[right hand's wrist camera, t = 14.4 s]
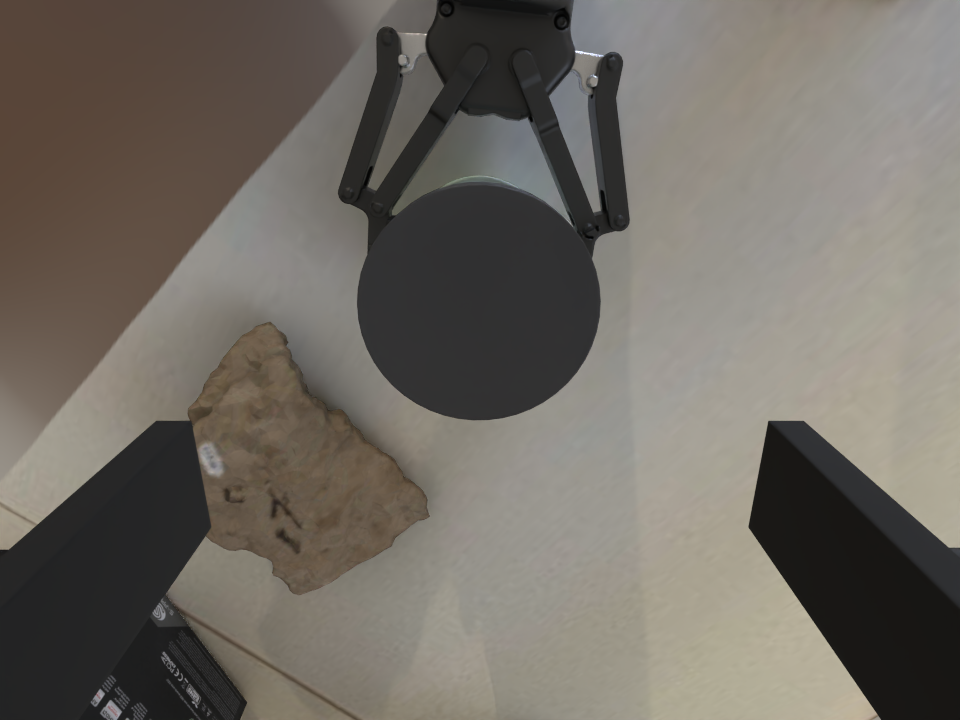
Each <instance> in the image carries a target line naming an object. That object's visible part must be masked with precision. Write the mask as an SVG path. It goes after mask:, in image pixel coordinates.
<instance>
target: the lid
mask: <svg viewBox="0 0 960 720" xmlns="http://www.w3.org/2000/svg"><path fill="white" fill-rule="evenodd" d="M600 302H601V301H600V288H599V282H598V277H597V273H596V269H595V266H594V263H593V261H592V258H591V255H590V253H589V252H588V250H587V248H586V246H585V244H584V242H583V240H582V239H581V238H580V236H579V235H578V234H577V232H576V231H575V229H574V228H573V227H572V226H571V225H570V224H569V223H568V222H567V221H566V220H565V219H564V218H563V217H562V216H561V215H560V214H559V213H558V212H557V211H556V210H554V209H553V208H552V207H551V206H549V205H548V204H547V203H546V202H544V201H543V200H541V199H539V198H537V197H536V196H534V195H532V194H531V193H528V192H526V191H523V190H521V189H519V188H516V187H512V186H509V185H505V184H501V183H493V182H464V183H458V184H452V185H449V186H445V187H442V188H439V189H436V190H434V191H432V192H430V193H427V194H425V195H423V196H422V197H420V198H419V199H417V200H415V201H414V202H412V203H411V204H409V205H408V206H407V207H406V208H405V209H403V210H402V211H401V212H400V213H399V214H398V215H396V216H395V217H394V218H393V219H392V220H391V221H390V222H389V223H388V225H387V226H386V227H385V228H384V229H383V230H382V231H381V233H380V234H379V236H378V237H377V239H376V240H375V242H374V243H373V245H372V247H371V249H370V251H369V253H368V255H367V257H366V259H365V262H364V265H363V268H362V271H361V275H360V280H359V286H358V297H357V308H358V320H359V324H360V329H361V333H362V336H363V339H364V342H365V345H366V347H367V350H368V352H369V354H370V355H371V357H372V359H373V361H374V363H375V364H376V366H377V367H378V369H379V370H380V371H381V373H382V374H383V375H384V377H385V378H386V379H387V380H388V381H389V382H390V383H391V384H392V385H393V386H394V387H395V388H396V389H397V390H398V391H400V392H401V393H402V394H403V395H404V396H406V397H407V398H409V399H410V400H412V401H413V402H415V403H416V404H418V405H420V406H422V407H424V408H426V409H428V410H430V411H433V412H436V413H439V414H442V415H445V416H449V417H453V418H458V419H467V420H492V419H499V418H505V417H509V416H513V415H517V414H519V413H522V412H524V411H527V410H530V409H532V408H534V407H536V406H537V405H539V404H541V403H543V402H545V401H546V400H548V399H549V398H550V397H552V396H553V395H555V394H556V393H557V392H558V391H559V390H561V389H562V388H563V387H564V386H565V385H566V384H567V383H568V382H569V381H570V380H571V378H572V377H573V376H574V375H575V374H576V373H577V371H578V370H579V368H580V367H581V365H582V364H583V362H584V361H585V359H586V357H587V355H588V353H589V351H590V349H591V347H592V344H593V341H594V338H595V335H596V332H597V328H598V323H599V317H600Z"/></svg>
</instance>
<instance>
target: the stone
mask: <svg viewBox="0 0 960 720" xmlns="http://www.w3.org/2000/svg"><path fill="white" fill-rule="evenodd" d="M287 343H288V341H287V338H286V336H285V335H284V334H283V333H282V332H281V331H279V330H278V329H277V328H276V327H275V326H274V325H273V324H272V323H271V322H268V323H265V324H262V325H259V326H256V327H255V328H254V329H253V330H252V331H250V332H248V333H246V334H244V335H243V336H242V337H241V338H240V339H239V340H238V341H237V342H236V343H235V344H234V346H233V347H232V348H231V349H230V350H229V352H228V353H227V354H226V355H225V356H224V358H223V359H222V361H221V362H220V364H219V367H218V368H217V369H216V370H215V371H214V372H212V373H211V374H210V377H209V379H208V380H207V382H206V383H205V384H204V387H203V391H202V393H201V394H200V396H199V397H198V399H197V400H196V402H195V403H194V404H193V405H192V406H191V407H189V408H188V416H189V419H190V421H192V424H193V432H194V437H195V442H196V448H197V453H198V458H199V463H200V469H201V474H202V479H203V485H204V490H205V495H206V500H207V506H208V511H209V516H210V522H211V529H210V530H209V532H208V533H207V534H206V537H207V538H208V539H210V540H211V541H212V542H214V543H216V544H217V545H219V546H221V547H223V548H225V549H227V550H233V551H236V550H240V549H243V550H248V551H251V552H253V553H255V554H257V555H258V556H261V557H264V558H267V559H269V560H270V561H272V564H273V572H272V574H273V575H274V576H276V577H279V578H281V579H282V580H283V581H284V582H285V583H286V584H287V585H288V587H289V589H290V591H291V592H292V593H294V594H297V595H301V594H304V593H307V592H309V591H312V590H316V589H318V588H320V587H322V586H324V585H326V584H329V583H331V582H332V581H334V580H335V579H337V578H338V577H339V576H340V575H342V574H343V573H345V572H347V571H348V570H350V569H351V568H353V567H355V566H356V565H358V564H359V563H362V562H364V561H366V560H368V559H370V558H372V557H374V556H376V555H377V554H379V553H380V552H382V551H383V550H385V549H387V548H389V547H391V546H392V544H393V541H394V539H395V537H397V536H398V535H399V534H401V533H402V532H403V531H405V530H406V529H407V528H408V527H410V526H411V525H412V524H413V523H415V522H416V521H418V520H424V519H426V518H428V517H429V513H428V509H427V498H426V495H425V494H424V492H423V491H422V490H421V489H420V488H419V487H418V486H417V485H415V483H413V482H412V481H411V480H409V479H407V478H405V477H404V476H403V474H402V471H401V470H400V468H399V467H398V465H397V463H396V462H395V460H394V459H393V458H392V457H390V456H389V455H387V454H385V453H383V452H381V451H380V450H379V449H378V448H376V447H374V446H372V445H371V444H369V443H368V442H367V441H366V440H365V439H364V437H363V435H362V433H361V432H360V430H358V429H357V428H355V427H354V426H353V424H352V423H351V422H350V420H349V418H348V416H347V415H346V414H345V413H344V412H343V411H342V410H340V409H337V410H333V411H328V409H327V407H326V405H325V404H324V403H323V402H321V401H320V400H317V398H315V397H311V396H310V395H309V393H308V390H307V386H306V384H305V383H304V382H303V380H302V378H303V374H302V372H301V370H300V368H299V367H298V365H297V364H296V363H295V362H294V361H293V360H292V355H291V352H290V349H288V348H287V347H286V345H287Z"/></svg>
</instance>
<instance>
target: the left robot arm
mask: <svg viewBox="0 0 960 720" xmlns="http://www.w3.org/2000/svg"><path fill="white" fill-rule="evenodd" d="M573 2H574V0H437V11H436V16H435V19H434V22H433V24H432V26H431V27H430V29H429V31H428V33H427V34H418V33H400V32H396V31H395V30H394V29H393V28H391V27H388V26H387V27H383V28H381V29H380V30H379V32H378V33H377V73H376V76H375V79H374V82H373V85H372V88H371V92H370V95H369V98H368V101H367V104H366V107H365V110H364V113H363V116H362V119H361V122H360V125H359V128H358V131H357V134H356V138H355V141H354V144H353V147H352V150H351V153H350V156H349V159H348V162H347V165H346V168H345V171H344V174H343V177H342V180H341V184H340V187H339V190H338V195H339V198H340V200H341V201H342V202H344V203H346V204H351V205H353V206H355V207H357V208H359V209H361V210H363V211H364V212H365V213H366V215H367V216H368V220H369V227H368V253H369V251H370V249H371V247H372V245H373V243H374V242H375V240H376V239H377V237H378V236H379V234H380V233H381V231H382V230H383V229H384V228H385V227H386V226H387V225H388V223H389V222H390V221H391V220H392V219H393V218H394V217H395V216H394V215H392V209H393V207H394V206H395V204H396V203H397V201H398V200H399V198H400V197H401V195H402V194H403V192H404V191H405V189H406V188H407V186H408V185H409V183H410V182H411V181H412V179H413V178H414V176H415V175H416V173H417V172H418V170H419V169H420V167H421V166H422V164H423V163H424V161H425V160H426V158H427V157H428V155H429V154H430V152H431V151H432V149H433V148H434V146H435V145H436V143H437V142H438V140H439V139H440V137H441V136H442V134H443V133H444V131H445V130H446V128H447V127H448V126H449V124H450V123H451V122H452V120H453V119H454V117H455V116H456V114H457V113H458V111H459V110H461V111H462V112H464V113H465V114H468V116H477V117H482V116H488V115H496V116H499V117H501V118H504V119H506V120H515V121H519V120H522V119H525V118H527V117H528V120H529V122H530V125H531V127H532V129H533V131H534V133H535V135H536V137H537V140H538V142H539V145H540V147H541V150H542V152H543V154H544V157H545V159H546V162H547V164H548V167H549V169H550V172H551V174H552V176H553V179H554V181H555V184H556V186H557V189H558V191H559V194H560V196H561V198H562V201H563V203H564V206H565V208H566V211H567V213H568V216H569V218H570V220H571V223H572V225H573V228H574V229H575V231H576V232H577V234H578V235H579V236H580V238H581V239H582V240H583V242H584V244H585V246H586V248H587V250H588V252H589V253H590V255H591V258H592V256H593V250H594V244H595V241H596V240H597V238H598V237H599V236H601V235H603V234H606V233H610V232H614V231H623V230H625V229H626V228H627V227H628V225H629V220H630V219H629V210H628V201H627V192H626V183H625V174H624V166H623V157H622V148H621V139H620V130H619V121H618V112H617V104H616V95H617V90H618V86H619V81H620V76H621V72H622V67H623V60H622V57H621V56H620V55H619V54H618V53H616V52H610V53H608V54H606V55H597V54H591V53H586V52H580V51H575V48H574V45H573V42H572V38H571V32H570V25H571V17H572V10H573ZM423 56H428V57H429V59H430V61H431V62H432V64H433V66H434V68H435V70H436V71H437V73H438V75H439V77H440V79H441V81H442V82H443V84H444V88H443V89H442V91H441V92H440V94H439V95H438V97H437V98H436V100H435V101H434V103H433V104H432V106H431V108H430V110H429V112H428V113H427V115H426V117H425V118H424V120H423V121H422V123H421V124H420V126H419V127H418V129H417V130H416V132H415V133H414V135H413V136H412V138H411V139H410V141H409V142H408V144H407V145H406V147H405V149H404V150H403V152H402V153H401V155H400V156H399V158H398V159H397V161H396V162H395V164H394V165H393V167H392V168H391V170H390V171H389V173H388V174H387V176H386V177H385V179H384V180H383V182H382V184H381V185H380V187H379V188H378V190H377V191H375V190H373V189H371V188H369V187H368V184H369V181H370V178H371V175H372V172H373V170H374V167H375V164H376V161H377V158H378V155H379V152H380V149H381V146H382V143H383V140H384V137H385V134H386V132H387V129H388V126H389V123H390V120H391V117H392V114H393V111H394V108H395V105H396V102H397V99H398V96H399V94H400V90H401V86H402V81H403V75H409V74H411V73H412V72H413V71H414V70H415V67H416V63H417V61H418V59H420V58H421V57H423ZM569 72H573V73H574V74H576V76H577V77H578V80H579V88H580V90H581V92H582V93H583V94H586V95H589V96H588V111H589V120H590V128H591V136H592V144H593V151H594V159H595V167H596V175H597V183H598V190H599V198H600V206H601V211H599V212H595V213H593V211H592V209H591V206H590V204H589V201H588V199H587V196H586V193H585V191H584V188H583V186H582V183H581V181H580V178H579V176H578V173H577V171H576V168H575V166H574V163H573V160H572V158H571V155H570V153H569V150H568V148H567V145H566V143H565V140H564V138H563V135H562V133H561V130H560V127H559V124H558V120H557V117H556V114H555V112H554V109H553V107H552V104H551V102H550V99H549V96H550V94H551V93H552V92H553V91H554V90H555V88H556V87H557V86H558V85H559V84H560V83H561V81H562V80H563V79H564V78H565V77H566V76H567V74H568V73H569Z"/></svg>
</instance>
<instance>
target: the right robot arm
mask: <svg viewBox="0 0 960 720" xmlns="http://www.w3.org/2000/svg"><path fill="white" fill-rule="evenodd" d="M210 529H211V522H210V516H209V511H208V506H207V500H206V495H205V490H204V485H203V479H202V474H201V469H200V463H199V458H198V453H197V448H196V442H195V437H194V432H193V426H192V421H156V422H155V423H153V424H152V425H151V426H150V427H149V428H148V429H147V430H145V431H144V432H143V433H142V434H141V435H140V436H139V437H137V438H136V439H135V440H134V441H133V442H132V443H131V444H129V445H128V446H127V447H126V448H125V449H124V450H123V451H121V452H120V453H119V454H118V455H117V456H116V457H115V458H113V459H112V460H111V461H110V462H109V463H108V464H107V465H105V466H104V467H103V468H102V469H101V470H100V471H99V472H97V473H96V474H95V475H94V476H93V477H92V478H91V479H89V480H88V481H87V482H86V483H85V484H84V485H82V486H81V487H80V488H79V489H78V490H77V491H76V492H74V493H73V494H72V495H71V496H70V497H69V498H68V499H66V500H65V501H64V502H63V503H62V504H61V505H60V506H58V507H57V508H56V509H55V510H54V511H53V512H52V513H50V514H49V515H48V516H47V517H46V518H45V519H44V520H42V521H41V522H40V523H39V524H38V525H37V526H36V527H34V528H33V529H32V530H31V531H30V532H29V533H28V534H26V535H25V536H24V537H23V538H22V539H21V540H20V541H18V542H17V543H16V544H15V545H14V546H13V547H12V548H10V549H9V550H0V720H79V719H80V717H81V716H82V714H83V713H84V711H85V710H86V708H87V707H88V706H89V704H90V703H91V701H92V700H93V698H94V697H95V695H96V694H97V693H98V691H99V690H100V688H101V687H102V685H103V684H104V682H105V681H106V679H107V678H108V677H109V675H110V674H111V672H112V671H113V669H114V668H115V666H116V665H117V664H118V662H119V661H120V659H121V658H122V656H123V655H124V653H125V652H126V650H127V649H128V648H129V646H130V645H131V643H132V642H133V640H134V639H135V637H136V636H137V635H138V633H139V632H140V630H141V629H142V627H143V626H144V624H145V623H146V621H147V620H148V619H149V617H150V616H151V614H152V613H153V611H154V610H155V608H156V607H157V606H158V604H159V603H160V601H161V600H162V598H163V597H164V595H165V594H166V592H167V591H168V590H169V588H170V587H171V585H172V584H173V582H174V581H175V579H176V578H177V577H178V575H179V574H180V572H181V571H182V569H183V568H184V566H185V565H186V563H187V562H188V561H189V559H190V558H191V556H192V555H193V553H194V552H195V550H196V549H197V548H198V546H199V545H200V543H201V542H202V540H203V539H204V537H205V536H206V534H207V533H208V532H209V530H210ZM749 529H750V530H751V532H752V533H753V534H754V536H755V537H756V539H757V540H758V542H759V543H760V545H761V546H762V548H763V549H764V550H765V552H766V553H767V555H768V556H769V558H770V559H771V561H772V562H773V563H774V565H775V566H776V568H777V569H778V571H779V572H780V574H781V575H782V577H783V578H784V579H785V581H786V582H787V584H788V585H789V587H790V588H791V590H792V591H793V592H794V594H795V595H796V597H797V598H798V600H799V601H800V603H801V604H802V606H803V607H804V608H805V610H806V611H807V613H808V614H809V616H810V617H811V619H812V620H813V621H814V623H815V624H816V626H817V627H818V629H819V630H820V632H821V633H822V635H823V636H824V637H825V639H826V640H827V642H828V643H829V645H830V646H831V648H832V649H833V650H834V652H835V653H836V655H837V656H838V658H839V659H840V661H841V662H842V664H843V665H844V666H845V668H846V669H847V671H848V672H849V674H850V675H851V677H852V678H853V679H854V681H855V682H856V684H857V685H858V687H859V688H860V690H861V691H862V693H863V694H864V695H865V697H866V698H867V700H868V701H869V703H870V704H871V706H872V707H873V708H874V710H875V711H876V713H877V714H878V716H879V717H880V719H881V720H960V548H948V547H947V546H946V545H945V544H944V543H943V542H942V541H940V540H939V539H938V538H937V537H936V536H935V535H934V534H932V533H931V532H930V531H929V530H928V529H927V528H926V527H924V526H923V525H922V524H921V523H920V522H919V521H918V520H916V519H915V518H914V517H913V516H912V515H911V514H910V513H908V512H907V511H906V510H905V509H904V508H903V507H902V506H900V505H899V504H898V503H897V502H896V501H895V500H894V499H892V498H891V497H890V496H889V495H888V494H887V493H886V492H884V491H883V490H882V489H881V488H880V487H879V486H877V485H876V484H875V483H874V482H873V481H872V480H871V479H869V478H868V477H867V476H866V475H865V474H864V473H863V472H861V471H860V470H859V469H858V468H857V467H856V466H855V465H853V464H852V463H851V462H850V461H849V460H848V459H847V458H845V457H844V456H843V455H842V454H841V453H840V452H839V451H837V450H836V449H835V448H834V447H833V446H832V445H831V444H829V443H828V442H827V441H826V440H825V439H824V438H823V437H821V436H820V435H819V434H818V433H817V432H816V431H815V430H813V429H812V428H811V427H810V426H809V425H808V424H807V423H805V422H804V421H768V426H767V432H766V437H765V442H764V447H763V453H762V458H761V463H760V469H759V474H758V479H757V485H756V490H755V495H754V500H753V506H752V511H751V516H750V522H749Z"/></svg>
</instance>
